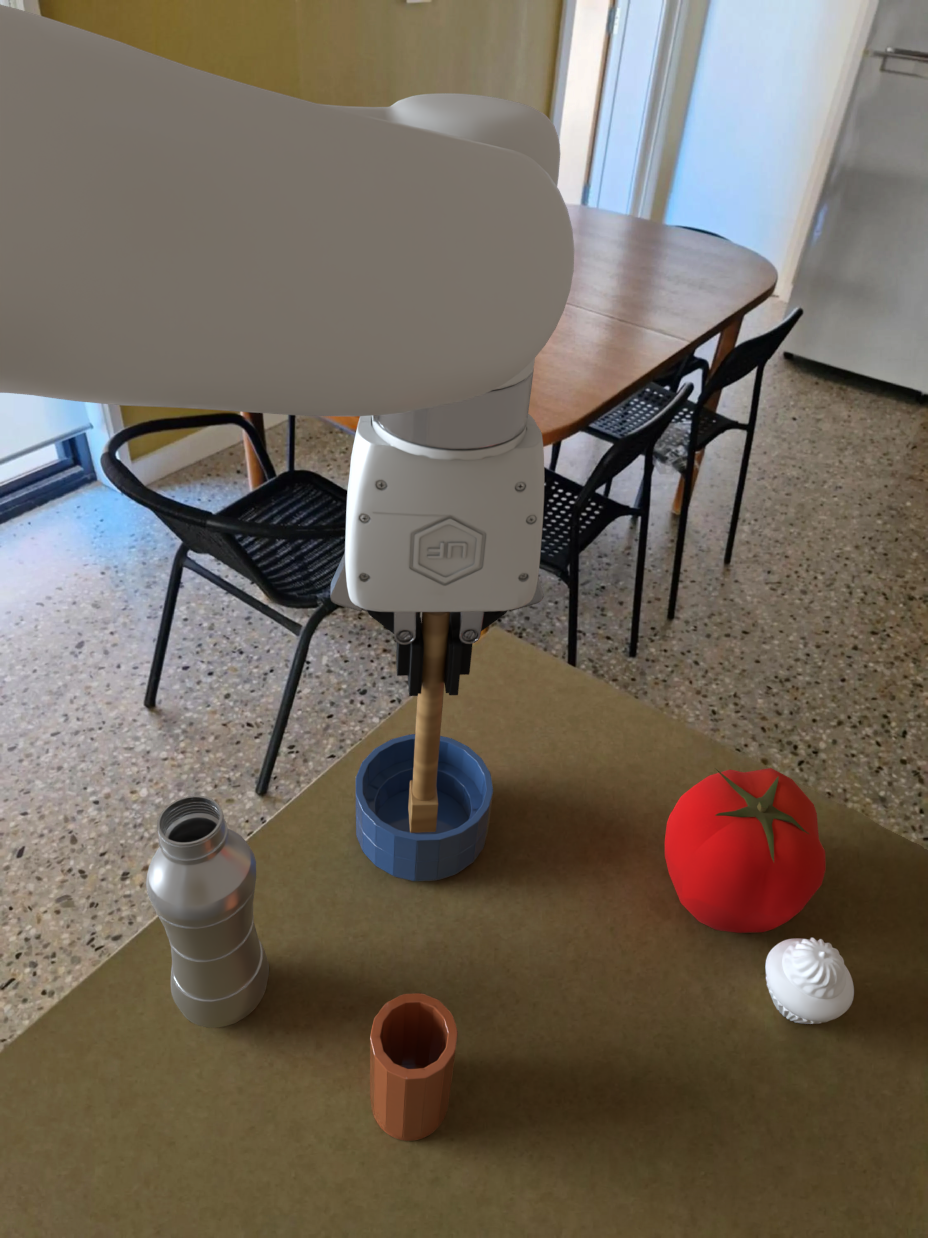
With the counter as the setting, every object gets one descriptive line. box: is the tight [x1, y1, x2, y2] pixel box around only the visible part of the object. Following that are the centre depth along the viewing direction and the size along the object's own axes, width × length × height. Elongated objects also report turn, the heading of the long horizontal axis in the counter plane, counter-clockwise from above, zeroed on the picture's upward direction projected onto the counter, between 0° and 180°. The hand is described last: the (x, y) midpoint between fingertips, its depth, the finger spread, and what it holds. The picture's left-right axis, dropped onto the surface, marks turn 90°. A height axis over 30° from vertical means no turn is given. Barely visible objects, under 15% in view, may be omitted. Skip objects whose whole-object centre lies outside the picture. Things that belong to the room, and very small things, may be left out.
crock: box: [369, 992, 459, 1142], centre depth 56 cm, size 5×5×9 cm
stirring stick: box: [408, 612, 450, 833], centre depth 56 cm, size 2×2×19 cm
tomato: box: [664, 767, 827, 934], centre depth 70 cm, size 12×13×12 cm
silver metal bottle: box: [145, 795, 270, 1029], centre depth 58 cm, size 6×7×20 cm
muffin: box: [764, 937, 855, 1025], centre depth 64 cm, size 6×6×7 cm
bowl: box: [355, 733, 494, 882], centre depth 75 cm, size 11×11×6 cm
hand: (431, 678), depth 54 cm, fingers closed on stirring stick, 1 cm apart
